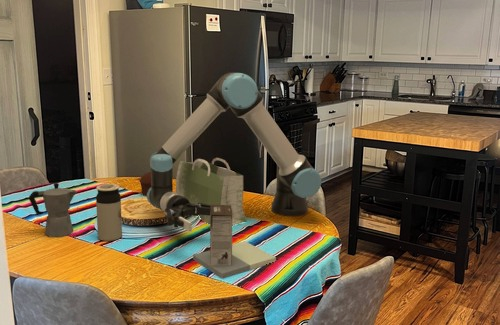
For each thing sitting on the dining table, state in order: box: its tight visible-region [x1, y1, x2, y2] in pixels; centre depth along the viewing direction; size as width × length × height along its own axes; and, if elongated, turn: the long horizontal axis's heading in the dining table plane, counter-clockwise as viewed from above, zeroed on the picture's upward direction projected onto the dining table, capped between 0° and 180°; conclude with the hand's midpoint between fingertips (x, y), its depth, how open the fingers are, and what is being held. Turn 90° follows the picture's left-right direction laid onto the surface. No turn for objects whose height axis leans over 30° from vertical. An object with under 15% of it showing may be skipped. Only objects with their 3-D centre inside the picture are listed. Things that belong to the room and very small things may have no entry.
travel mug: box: [95, 183, 123, 242], centre depth 163 cm, size 8×8×18 cm
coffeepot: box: [28, 182, 78, 238], centre depth 166 cm, size 15×9×18 cm, turn 110°
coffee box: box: [209, 205, 234, 266], centre depth 143 cm, size 9×6×16 cm
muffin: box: [138, 171, 151, 197], centre depth 216 cm, size 12×11×10 cm
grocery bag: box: [174, 157, 247, 225], centre depth 188 cm, size 32×14×23 cm, turn 41°
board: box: [192, 240, 277, 279], centre depth 148 cm, size 20×16×2 cm
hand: (209, 222), depth 148 cm, fingers open, 13 cm apart
